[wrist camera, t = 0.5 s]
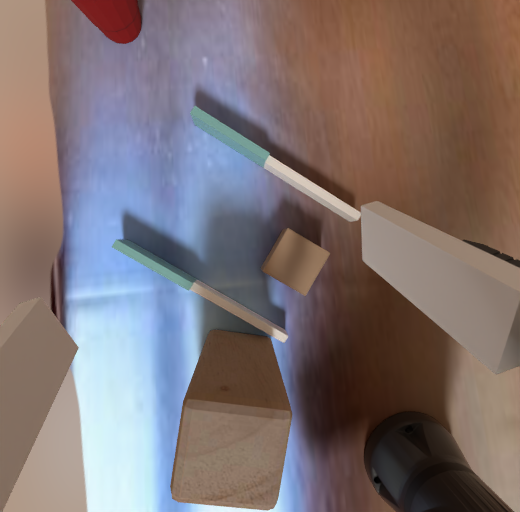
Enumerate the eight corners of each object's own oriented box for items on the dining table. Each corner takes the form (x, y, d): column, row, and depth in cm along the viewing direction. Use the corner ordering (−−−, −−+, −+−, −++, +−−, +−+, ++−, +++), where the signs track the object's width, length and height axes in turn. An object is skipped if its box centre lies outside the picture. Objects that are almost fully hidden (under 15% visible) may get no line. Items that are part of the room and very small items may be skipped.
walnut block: (320, 251, 45) (330, 253, 40) (298, 289, 45) (305, 295, 40) (282, 229, 44) (287, 228, 39) (260, 268, 44) (262, 271, 39)
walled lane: (353, 215, 45) (364, 212, 41) (281, 336, 45) (285, 345, 41) (199, 118, 42) (194, 105, 38) (123, 246, 43) (111, 247, 39)
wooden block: (209, 326, 44) (182, 396, 24) (272, 335, 45) (296, 410, 25) (200, 388, 45) (165, 507, 25) (262, 395, 45) (278, 517, 25)
